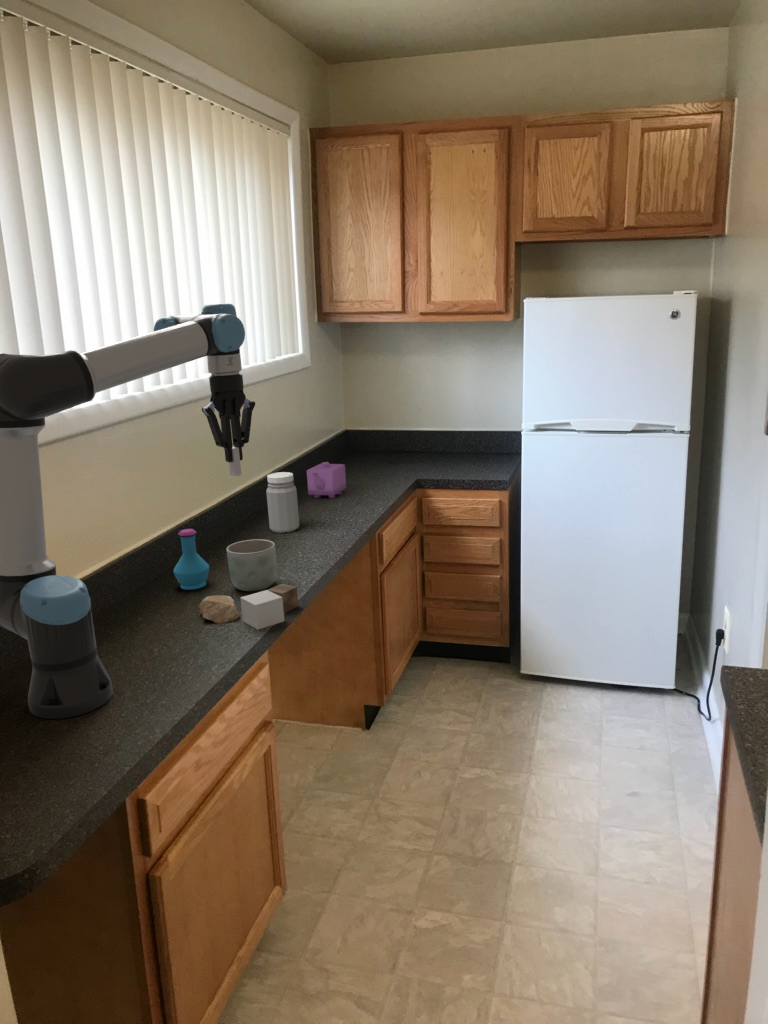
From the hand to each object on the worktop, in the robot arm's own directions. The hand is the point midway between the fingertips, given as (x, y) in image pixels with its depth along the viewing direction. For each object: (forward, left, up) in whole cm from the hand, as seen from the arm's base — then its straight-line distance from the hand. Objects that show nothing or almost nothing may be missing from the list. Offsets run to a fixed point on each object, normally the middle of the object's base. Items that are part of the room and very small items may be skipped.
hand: (235, 474), depth 197 cm
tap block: (-3, -12, -33) cm, 35 cm away
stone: (-9, -1, -33) cm, 34 cm away
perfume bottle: (-3, +24, -33) cm, 41 cm away
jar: (+43, +52, -33) cm, 75 cm away
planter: (+8, +11, -33) cm, 35 cm away
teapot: (+78, +79, -33) cm, 116 cm away
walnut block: (+5, -8, -33) cm, 34 cm away
